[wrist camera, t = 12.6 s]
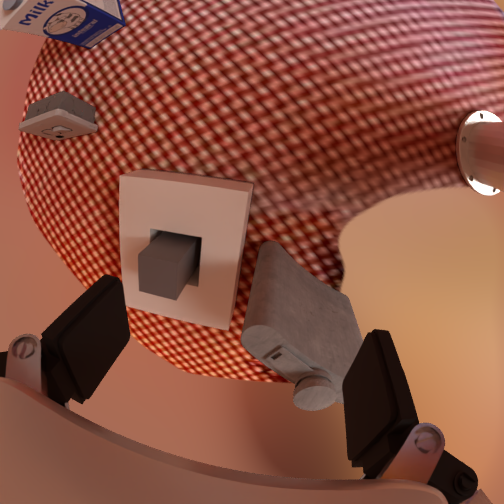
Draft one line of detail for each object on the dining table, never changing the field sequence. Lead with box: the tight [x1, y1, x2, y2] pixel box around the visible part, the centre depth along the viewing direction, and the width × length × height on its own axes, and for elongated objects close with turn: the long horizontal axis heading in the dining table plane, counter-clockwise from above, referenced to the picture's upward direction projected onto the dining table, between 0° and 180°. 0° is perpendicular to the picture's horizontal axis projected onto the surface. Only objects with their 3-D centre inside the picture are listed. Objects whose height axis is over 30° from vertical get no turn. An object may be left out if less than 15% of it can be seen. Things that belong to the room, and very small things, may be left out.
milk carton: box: [0, 0, 126, 49], centre depth 16 cm, size 7×7×20 cm
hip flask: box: [241, 241, 363, 411], centre depth 29 cm, size 16×4×20 cm, turn 53°
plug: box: [138, 231, 202, 300], centre depth 32 cm, size 4×4×10 cm
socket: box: [119, 169, 254, 331], centre depth 35 cm, size 15×18×6 cm
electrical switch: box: [19, 91, 98, 140], centre depth 28 cm, size 9×5×9 cm, turn 89°
